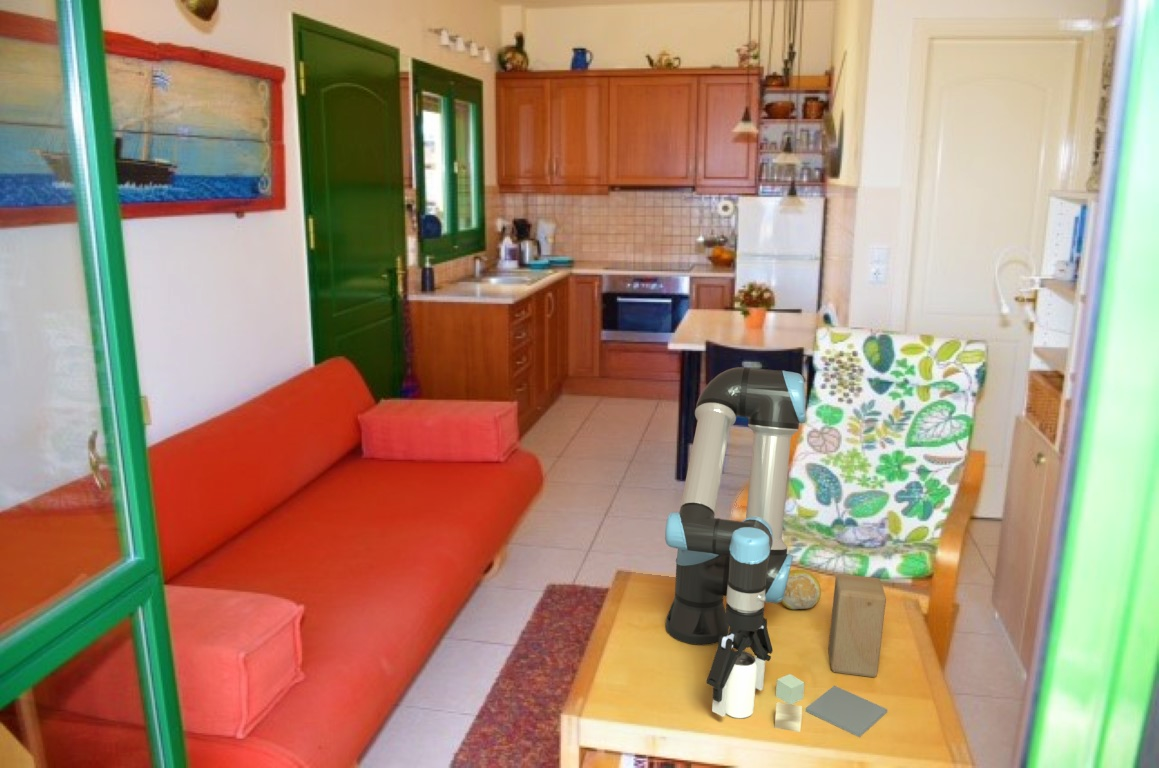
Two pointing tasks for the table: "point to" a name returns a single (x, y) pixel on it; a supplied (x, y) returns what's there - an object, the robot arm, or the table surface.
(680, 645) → the table surface
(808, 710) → the slate coaster
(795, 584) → the fruit
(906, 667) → the table surface
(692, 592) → the robot arm
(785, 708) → the pale birch block
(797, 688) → the sage painted cube
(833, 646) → the wooden block
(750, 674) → the can
